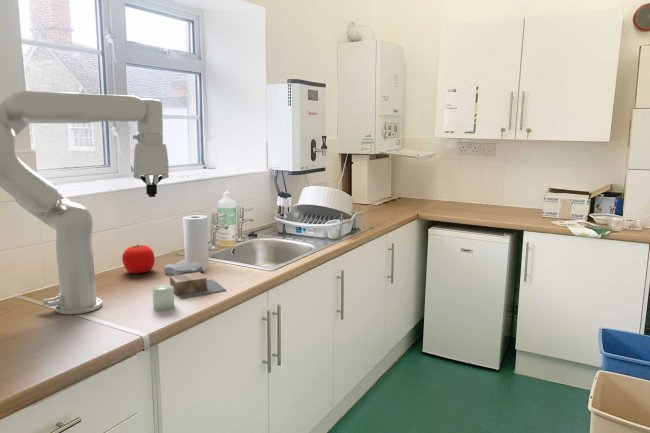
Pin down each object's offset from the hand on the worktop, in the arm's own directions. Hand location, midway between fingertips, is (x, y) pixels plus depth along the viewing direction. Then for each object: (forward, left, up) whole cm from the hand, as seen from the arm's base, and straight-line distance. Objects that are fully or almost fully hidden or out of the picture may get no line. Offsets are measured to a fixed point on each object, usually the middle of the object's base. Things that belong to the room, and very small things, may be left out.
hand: (151, 196), depth 160 cm
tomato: (-1, +25, -32) cm, 40 cm away
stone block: (+14, +16, -32) cm, 38 cm away
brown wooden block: (+4, -5, -29) cm, 30 cm away
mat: (+12, -5, -32) cm, 34 cm away
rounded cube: (-2, -17, -32) cm, 36 cm away
